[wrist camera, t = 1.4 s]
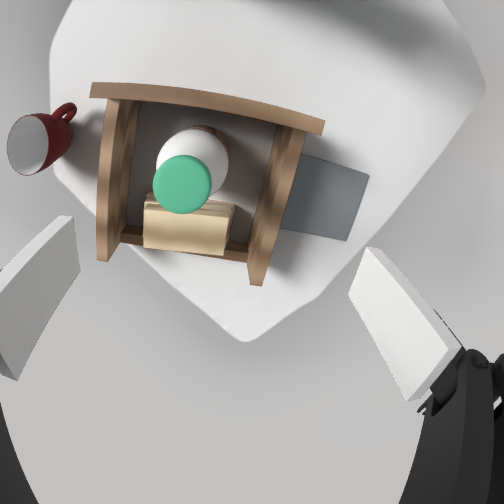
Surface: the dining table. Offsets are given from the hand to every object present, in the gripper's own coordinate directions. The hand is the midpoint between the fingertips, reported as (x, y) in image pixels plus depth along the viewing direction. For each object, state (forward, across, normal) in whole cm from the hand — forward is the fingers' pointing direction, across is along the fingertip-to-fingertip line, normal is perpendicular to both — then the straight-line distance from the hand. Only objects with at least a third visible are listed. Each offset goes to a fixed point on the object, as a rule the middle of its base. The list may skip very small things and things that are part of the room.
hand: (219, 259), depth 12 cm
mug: (+30, -25, +2) cm, 39 cm away
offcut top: (+26, -4, -10) cm, 28 cm away
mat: (+30, +17, -5) cm, 35 cm away
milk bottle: (+30, -3, 0) cm, 31 cm away
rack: (+30, -3, -4) cm, 31 cm away
